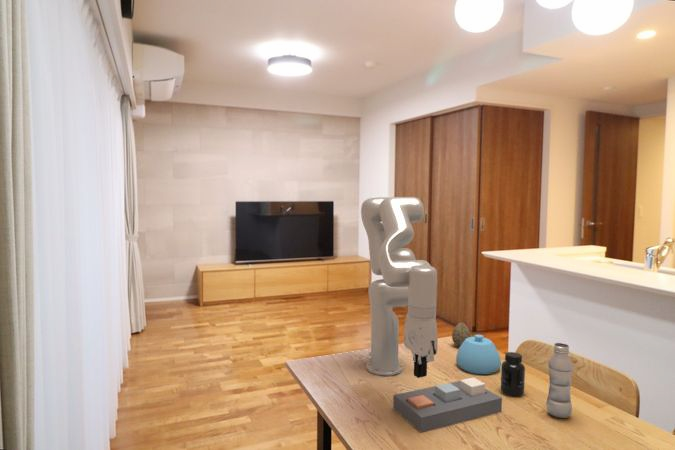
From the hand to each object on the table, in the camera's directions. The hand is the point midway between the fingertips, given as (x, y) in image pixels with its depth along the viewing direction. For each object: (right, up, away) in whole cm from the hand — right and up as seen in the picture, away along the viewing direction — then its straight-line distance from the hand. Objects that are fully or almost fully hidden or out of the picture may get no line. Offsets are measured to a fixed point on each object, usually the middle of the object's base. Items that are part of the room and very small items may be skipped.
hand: (420, 375), depth 125 cm
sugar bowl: (+27, -9, +35) cm, 45 cm away
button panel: (+8, -11, +4) cm, 14 cm away
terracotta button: (0, -11, 0) cm, 11 cm away
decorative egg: (+26, -7, +56) cm, 62 cm away
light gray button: (+8, -9, +4) cm, 13 cm away
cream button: (+17, -9, +7) cm, 20 cm away
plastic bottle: (+39, -12, +1) cm, 40 cm away
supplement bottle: (+31, -10, +15) cm, 36 cm away
